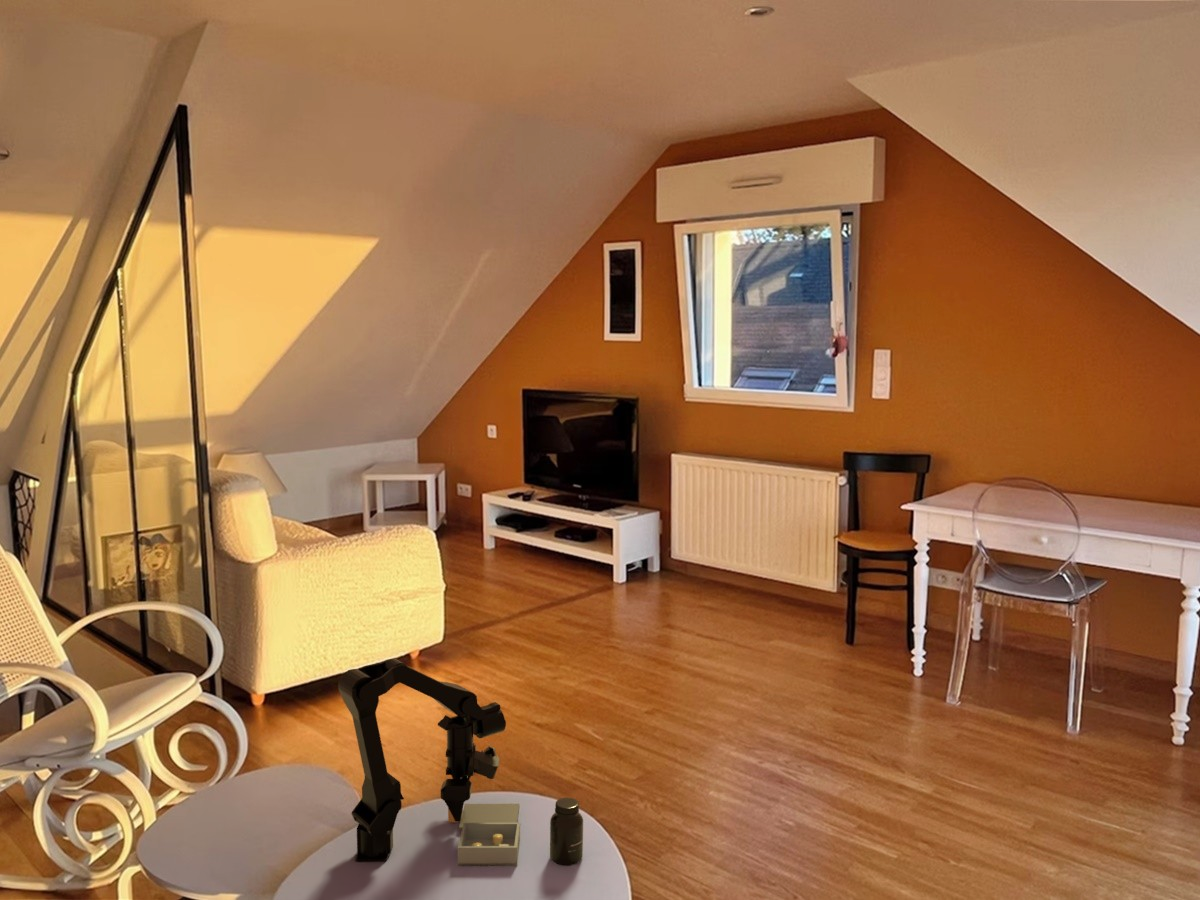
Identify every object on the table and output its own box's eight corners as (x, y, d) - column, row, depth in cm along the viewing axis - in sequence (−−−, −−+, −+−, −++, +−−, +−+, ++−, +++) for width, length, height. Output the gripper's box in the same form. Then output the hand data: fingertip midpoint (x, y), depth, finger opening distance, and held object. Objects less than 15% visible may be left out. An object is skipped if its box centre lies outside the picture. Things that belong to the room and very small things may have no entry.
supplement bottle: (578, 869, 191) (579, 812, 190) (546, 865, 193) (546, 809, 191) (586, 851, 198) (586, 796, 197) (554, 847, 199) (554, 793, 198)
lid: (446, 835, 204) (445, 813, 204) (452, 811, 215) (452, 790, 214) (516, 834, 205) (516, 813, 204) (519, 810, 215) (519, 790, 214)
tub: (457, 866, 192) (457, 847, 191) (463, 840, 202) (463, 822, 201) (517, 866, 192) (517, 847, 192) (520, 840, 202) (520, 822, 201)
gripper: (493, 762, 198) (493, 832, 200) (500, 726, 217) (500, 790, 219) (439, 762, 198) (440, 832, 200) (451, 726, 217) (452, 790, 218)
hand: (460, 810), depth 209 cm, fingers open, 9 cm apart
